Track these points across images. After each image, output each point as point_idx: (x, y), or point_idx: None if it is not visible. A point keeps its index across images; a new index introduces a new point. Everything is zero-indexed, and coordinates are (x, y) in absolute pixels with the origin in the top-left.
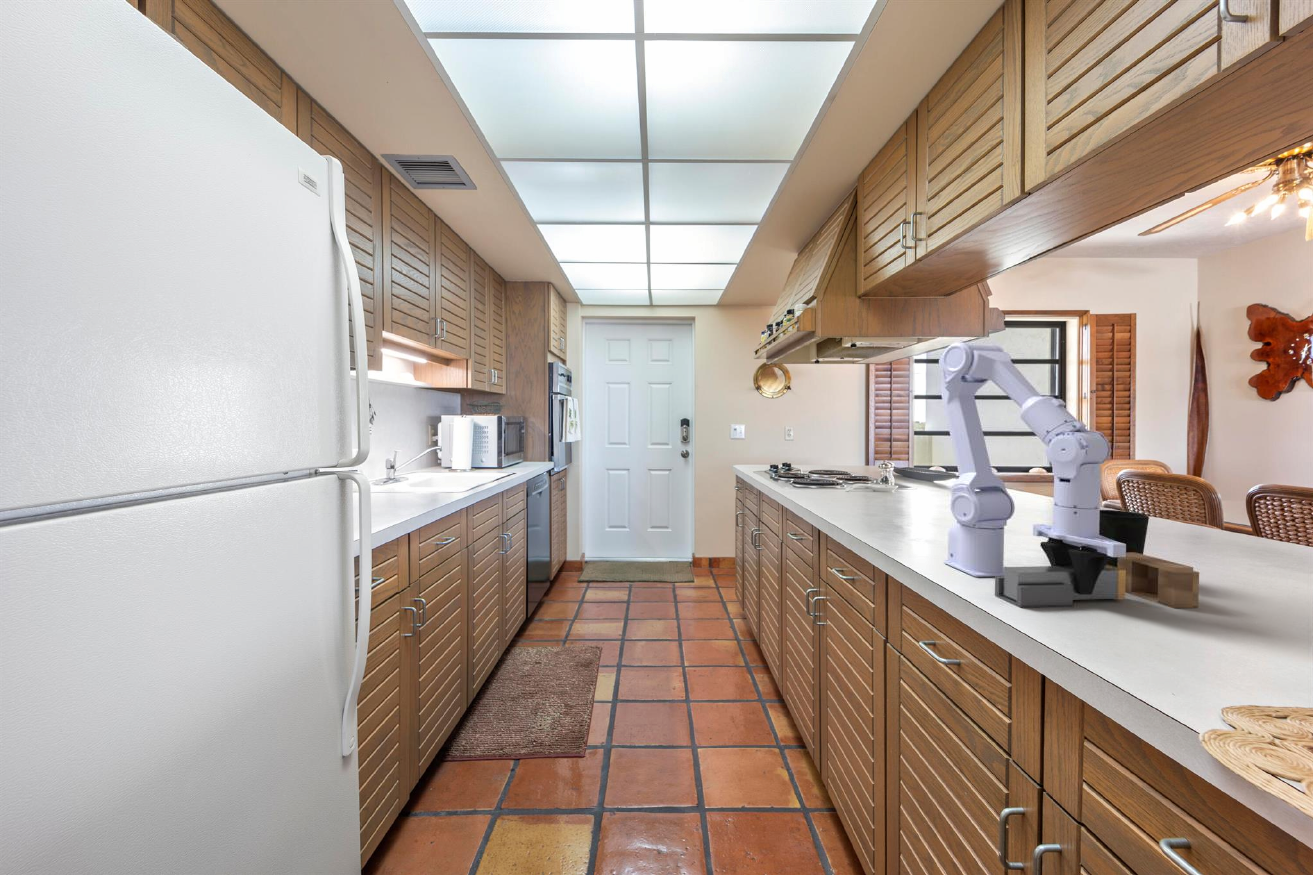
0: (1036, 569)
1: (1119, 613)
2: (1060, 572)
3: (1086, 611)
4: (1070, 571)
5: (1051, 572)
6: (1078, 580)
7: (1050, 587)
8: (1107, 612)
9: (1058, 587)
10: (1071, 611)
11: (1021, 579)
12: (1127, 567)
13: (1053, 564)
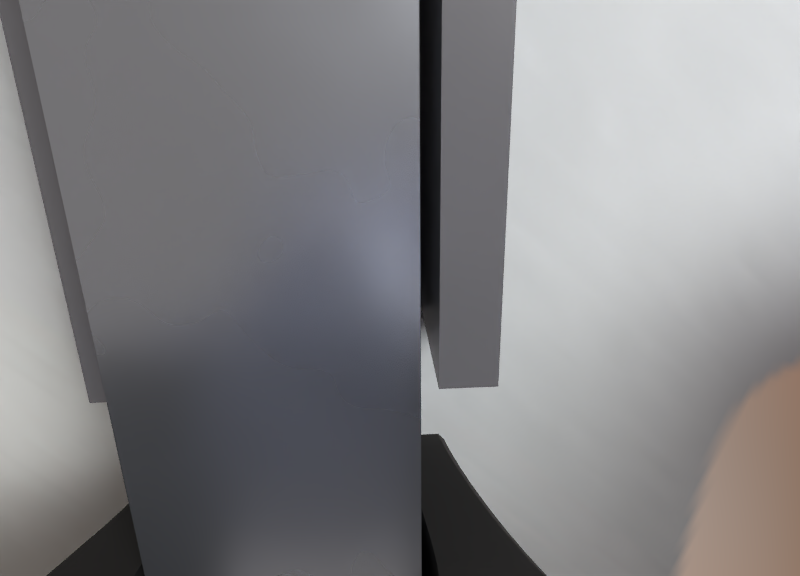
0: (224, 110)
1: (48, 516)
2: (117, 408)
3: (57, 329)
4: (140, 550)
5: (85, 264)
6: (120, 519)
7: (35, 112)
8: (58, 458)
9: (52, 220)
10: (37, 206)
11: None
12: None
13: (476, 569)
